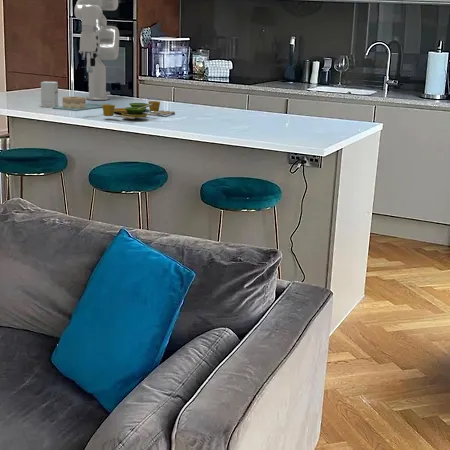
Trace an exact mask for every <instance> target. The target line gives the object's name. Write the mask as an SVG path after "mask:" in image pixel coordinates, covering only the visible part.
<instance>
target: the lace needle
mask: <svg viewBox="0 0 450 450" xmlns="http://www.w3.org/2000/svg"><path fill="white" fill-rule="evenodd" d="M86 54H87V66H86V73H88V74H89V73H93V66H90V59H91V52H86Z"/></svg>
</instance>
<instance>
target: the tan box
mask: <svg viewBox="0 0 450 450" xmlns="http://www.w3.org/2000/svg"><path fill="white" fill-rule="evenodd" d="M86 104H87V103H86V97H84V96H62V106H63V108H70V109H81V108H86Z"/></svg>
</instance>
